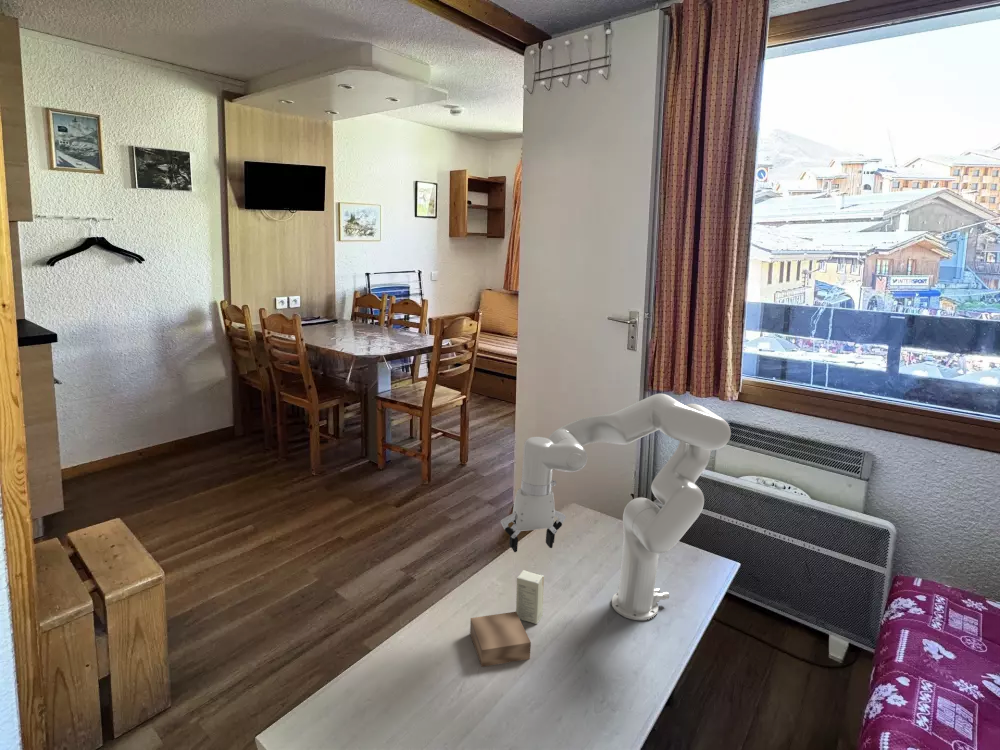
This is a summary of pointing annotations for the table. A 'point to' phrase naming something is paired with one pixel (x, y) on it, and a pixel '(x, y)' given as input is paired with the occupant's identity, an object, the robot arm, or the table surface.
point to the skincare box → (530, 596)
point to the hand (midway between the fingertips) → (531, 547)
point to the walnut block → (499, 639)
